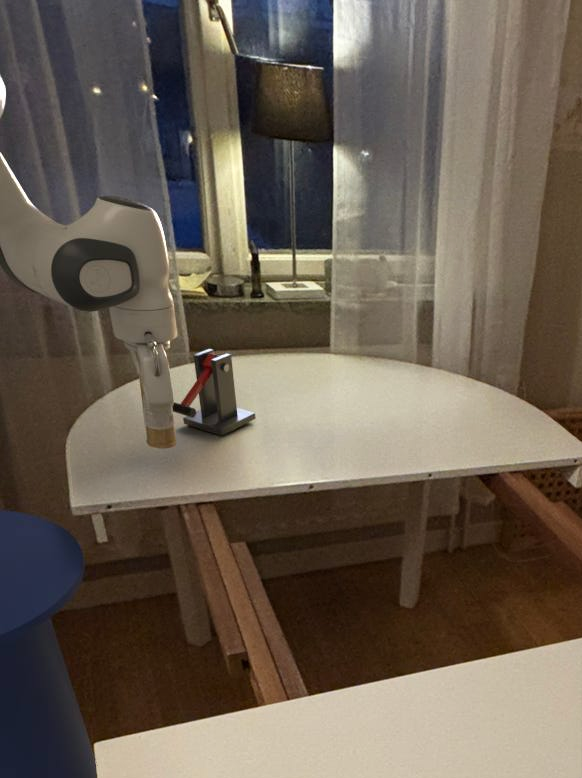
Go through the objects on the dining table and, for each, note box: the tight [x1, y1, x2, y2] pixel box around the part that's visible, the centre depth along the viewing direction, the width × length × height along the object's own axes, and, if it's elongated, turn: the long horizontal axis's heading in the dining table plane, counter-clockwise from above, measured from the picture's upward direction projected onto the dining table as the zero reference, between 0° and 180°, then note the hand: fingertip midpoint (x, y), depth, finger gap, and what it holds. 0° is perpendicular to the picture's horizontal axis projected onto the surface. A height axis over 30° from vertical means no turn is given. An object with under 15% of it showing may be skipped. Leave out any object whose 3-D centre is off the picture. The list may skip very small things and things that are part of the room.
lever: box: [172, 353, 220, 418], centre depth 139 cm, size 13×5×2 cm
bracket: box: [182, 348, 257, 436], centre depth 144 cm, size 10×9×13 cm
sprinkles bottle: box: [135, 361, 177, 450], centre depth 120 cm, size 5×5×13 cm
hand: (157, 413), depth 121 cm, fingers closed on sprinkles bottle, 4 cm apart
